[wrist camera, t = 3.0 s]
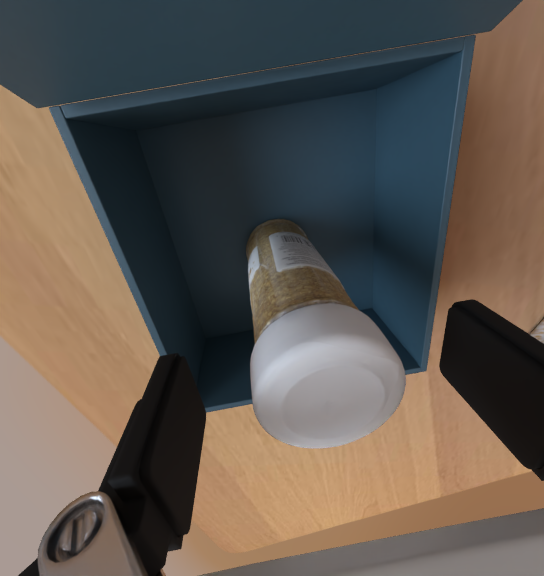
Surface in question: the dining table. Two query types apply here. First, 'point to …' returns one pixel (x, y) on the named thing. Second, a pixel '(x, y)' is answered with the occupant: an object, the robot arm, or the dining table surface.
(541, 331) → the decorative jar
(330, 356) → the spice jar
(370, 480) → the dining table surface
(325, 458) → the dining table surface
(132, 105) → the carton
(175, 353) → the robot arm
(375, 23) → the flap
